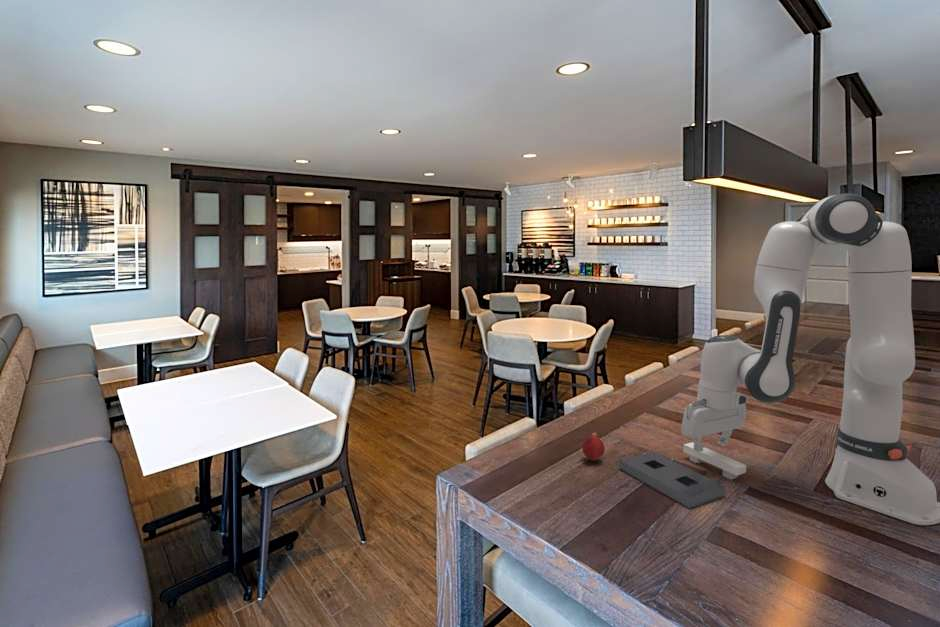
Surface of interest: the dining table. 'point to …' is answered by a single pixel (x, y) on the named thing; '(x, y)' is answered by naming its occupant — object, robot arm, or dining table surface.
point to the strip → (716, 461)
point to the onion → (593, 447)
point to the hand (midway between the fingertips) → (710, 447)
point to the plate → (673, 479)
